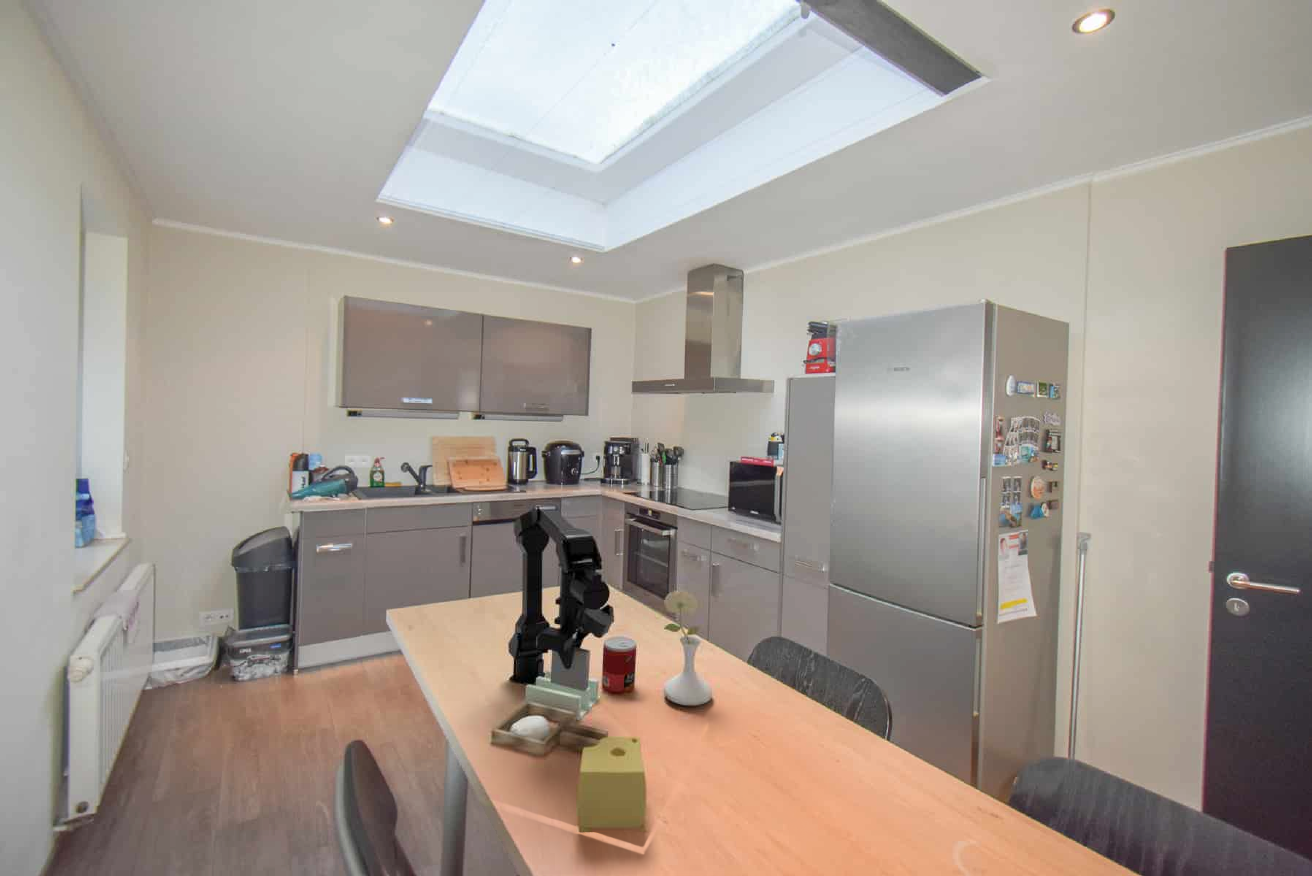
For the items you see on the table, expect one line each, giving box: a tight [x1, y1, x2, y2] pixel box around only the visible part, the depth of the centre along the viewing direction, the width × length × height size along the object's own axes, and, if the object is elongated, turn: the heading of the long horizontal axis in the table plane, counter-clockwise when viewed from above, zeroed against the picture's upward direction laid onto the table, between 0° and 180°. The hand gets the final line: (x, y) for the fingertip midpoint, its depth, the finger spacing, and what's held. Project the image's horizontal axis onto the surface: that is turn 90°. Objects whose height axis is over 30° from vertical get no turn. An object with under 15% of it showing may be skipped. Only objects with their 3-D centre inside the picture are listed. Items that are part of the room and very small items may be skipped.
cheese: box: [576, 736, 647, 833], centre depth 93 cm, size 10×11×10 cm
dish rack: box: [520, 668, 602, 721], centre depth 127 cm, size 14×11×5 cm
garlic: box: [509, 715, 552, 741], centre depth 114 cm, size 8×7×4 cm
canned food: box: [601, 635, 637, 695], centre depth 136 cm, size 8×8×11 cm
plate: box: [550, 647, 591, 691], centre depth 119 cm, size 8×2×8 cm, turn 70°
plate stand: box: [558, 722, 609, 756], centre depth 111 cm, size 8×6×3 cm
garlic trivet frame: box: [490, 701, 576, 757], centre depth 114 cm, size 12×13×3 cm
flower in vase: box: [662, 590, 713, 707], centre depth 133 cm, size 13×11×25 cm
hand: (569, 666), depth 119 cm, fingers closed on plate, 2 cm apart
